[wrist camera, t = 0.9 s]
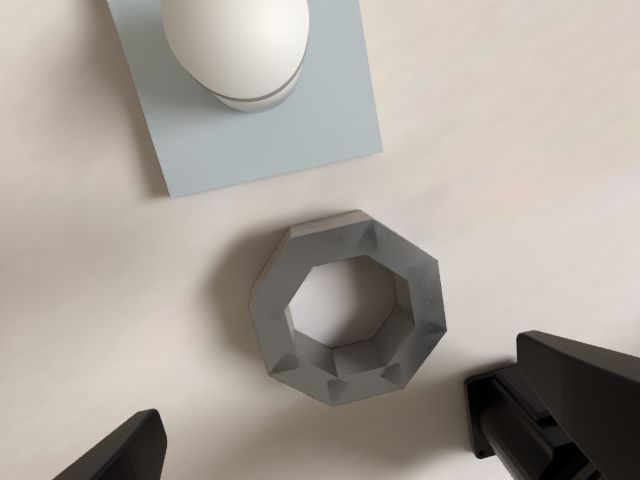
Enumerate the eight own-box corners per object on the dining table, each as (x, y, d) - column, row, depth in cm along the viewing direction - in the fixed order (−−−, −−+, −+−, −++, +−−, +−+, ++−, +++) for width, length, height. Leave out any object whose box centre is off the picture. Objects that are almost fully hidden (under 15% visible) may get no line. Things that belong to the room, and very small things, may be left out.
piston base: (375, 152, 19) (419, 150, 13) (179, 195, 19) (128, 215, 13) (336, -80, 17) (368, -223, 10) (106, -37, 16) (-7, -159, 10)
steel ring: (431, 348, 23) (453, 376, 20) (281, 385, 22) (281, 420, 19) (409, 198, 20) (430, 205, 17) (239, 237, 20) (232, 251, 17)
